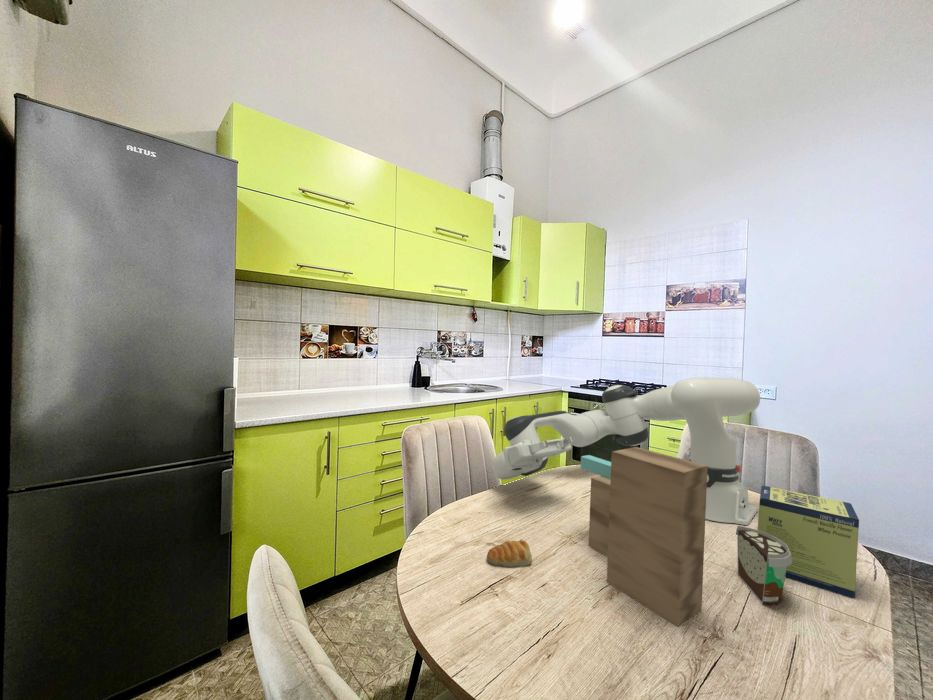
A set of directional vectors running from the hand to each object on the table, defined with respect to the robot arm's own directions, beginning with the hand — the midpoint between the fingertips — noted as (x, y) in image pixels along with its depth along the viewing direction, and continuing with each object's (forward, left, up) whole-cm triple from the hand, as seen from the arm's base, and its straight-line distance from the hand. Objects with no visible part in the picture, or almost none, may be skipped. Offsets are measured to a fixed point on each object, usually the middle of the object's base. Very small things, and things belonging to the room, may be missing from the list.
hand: (558, 441), depth 105 cm
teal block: (0, +19, -4) cm, 20 cm away
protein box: (-27, +45, -21) cm, 57 cm away
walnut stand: (+4, +27, -20) cm, 34 cm away
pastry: (+24, +11, -21) cm, 34 cm away
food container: (-12, +44, -21) cm, 50 cm away
